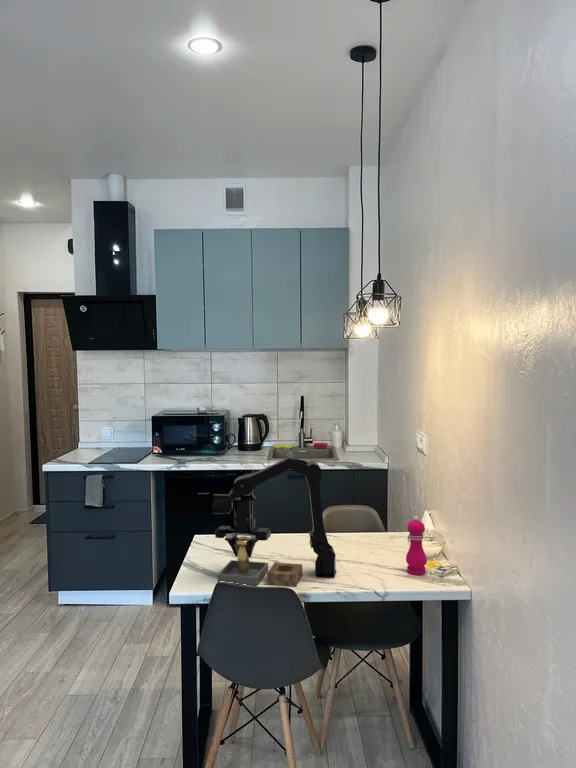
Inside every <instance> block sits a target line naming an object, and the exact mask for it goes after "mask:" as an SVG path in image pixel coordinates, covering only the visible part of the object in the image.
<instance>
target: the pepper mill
mask: <svg viewBox="0 0 576 768" xmlns="http://www.w3.org/2000/svg"><path fill="white" fill-rule="evenodd" d="M406 529H407V532H409V533H408V538H409V541H410V543H409V545H410V546H409V548H408V551H407V553H406V555H405V562H406V564H407V566H406V567H407V573H408V574H409V575H413V576H422V575H425V574H426V567H425V565H426V564H427V562H428V559H427V554H426V553H425V551H424V547H423V540H424V533H425V530H426V528H425V524H424V522H422V521H421V520H419V517H418V516H416V515H415V516H413V519H412V520H411V521H409V522H408V524H407V528H406Z"/></svg>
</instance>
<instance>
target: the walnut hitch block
mask: <svg viewBox="0 0 576 768" xmlns="http://www.w3.org/2000/svg"><path fill="white" fill-rule="evenodd" d="M266 577H267V578H266V579H267V581H266V582H267V583H266V585H269V586H279V587H280V586H283V587H293V588H294V587H295V588H297V586H298V585H297V584H299V583H300V581H301V579H302V577H303V564H302V563H301V564H300V563H287V562H274V563H273V564H272V565H271V567H270V568H269V569H268V572H267V573H266Z"/></svg>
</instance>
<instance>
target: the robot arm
mask: <svg viewBox="0 0 576 768" xmlns="http://www.w3.org/2000/svg"><path fill="white" fill-rule="evenodd" d="M290 470H291V471H292V472H293V471H294V472H296V473H298V474H300V475H303V476H305V479H306V482H307V487H308V491H309V499H310V501H309V502H310V510H311V518H312V519H311V520H312V531H308V535H309V546H310V548H311V549H312V550H313V552H314V554H316V559H315V561H314V566H315V567H314V571H315V572H314V573H315V577H320V578H321V577H322V578H335V577H336V574H337V569H336V567H337V566H336V563H337V562H336V555H337V554H336V552H335V550H334V547H333V545H331V544H330V543H329V541H328V540H329V539H328V537H327V534H326V530H325V526H324V525H325V524H324V516H323V515H324V514H323V506H322V498H321V484H322V475H323V471H322V468H321V467H320V464H318V462H316V461H314V460H313V461H312V460H311V461H305V460H302V459H298V458H295V457H292V456H289V455H288V456H286V457H285V458H284V459H281V460H279V461H278V462H275V463H273V464H271V465H269V466H267V467H265V468H263V469H261V470H258V471H257V472H253V473H248V474H243V475H240V476H238V477H236V478H235V480H234V483H233V488H231V490H230V491H229V493H228V494H227V493H223V494H222V493H214V494H213V496H212V497H213V501H212V506H211V507H212V508H211V509H212V514H213V515H222V514H223V515H226V514H230V512H231V511H233V512H234V513H233V514H234V516H233V519H232V520H233V522H234V529H233V528H232V527H231V526H230V525H220V526H219V527H218V528H217V529H216V530H215V533H214V536H215V539H224V541H227V544H229V546H230V549H231V550H232V552H233V554H234V556H235V558H238V552H237V545H236V544H235V538H237V537H239V536H241V537H242V536H246V537H250V538H251V539H250V540H249V559H251V558H252V556H253V555H252V554H253V552H254V549H255V545H256V543H258V542H259V541H262V542H263V541H264V542H265V541H268V539H269V538H270V537H271V535H272V534H271V529H270V528H268V527H258V529H256V519H257V518H254V517H253V516H252V513H251V512H252V510H251V506H252V503H251V502H255V501H256V499H257V498H256V497H257V496H255V495H254V494H253V493H252V492H251V491H254V489H255V488H256V487H258V486H259V485H260V484H262V483H264V482H266V481H269V480H271V479H273V478H275V477H277V476H279V475H281V474H283V473H285V472H288V471H290ZM233 505H234V506H233ZM253 529H256V530H253Z"/></svg>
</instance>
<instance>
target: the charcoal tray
mask: <svg viewBox="0 0 576 768" xmlns="http://www.w3.org/2000/svg"><path fill="white" fill-rule="evenodd" d="M268 571H269V562H266V561H265V562H262V561H250V560H249V572H248V573H238V560H237V559H236V560H235V559H233V560H232V559H231V560H230V561H229V562H228V563H226V565H225V566H224V567H223V568H222V569H221V570H220V571H219V572H218V573H217V583H218V582H220V581H225V582H233V583H239V584H246V585H245V586H248V585H255V586H254V587H258V586H259V584H260V583H261V582H262V580H263V579H264V577H265V576H267V572H268Z"/></svg>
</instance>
